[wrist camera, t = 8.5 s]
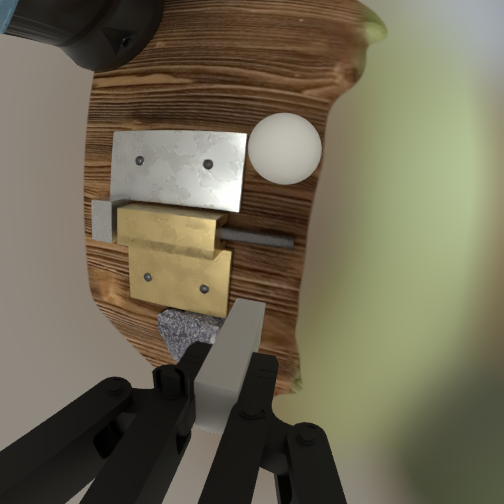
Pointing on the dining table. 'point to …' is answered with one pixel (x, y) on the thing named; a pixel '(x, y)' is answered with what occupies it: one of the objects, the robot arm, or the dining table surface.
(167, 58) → the dining table surface
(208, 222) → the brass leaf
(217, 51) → the dining table surface
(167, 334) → the rock
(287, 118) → the lightbulb
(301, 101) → the dining table surface
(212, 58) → the dining table surface
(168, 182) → the zinc leaf
